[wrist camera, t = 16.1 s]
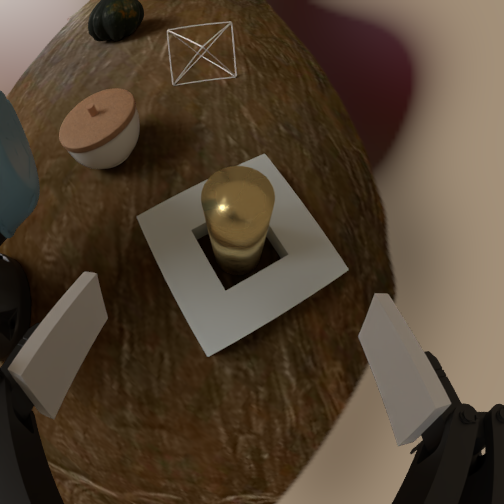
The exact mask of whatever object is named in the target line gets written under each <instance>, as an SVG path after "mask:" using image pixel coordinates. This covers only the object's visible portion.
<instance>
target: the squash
mask: <svg viewBox="0 0 504 504" xmlns="http://www.w3.org/2000/svg"><path fill="white" fill-rule="evenodd" d="M143 17H144V10H143V6H142V5H141V3H140V2H139V1H138V0H101V1H100V2H99V3H98V4H97V5H96V7H95V8H94V9H93V11H92V12H91V14H90V17H89V22H88V30H89V34H90V35H91V36H92V37H93V38H94V39H95V40H97V41H104V40H109V39H112V40H114V41H119V40H121V39H122V38H123V36H127V35H130V34H131V33H132V32H134V31H135V29H136V28H137V27H138V26H139V25H140V24H141V22H142V20H143Z"/></svg>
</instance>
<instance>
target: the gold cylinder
mask: <svg viewBox="0 0 504 504" xmlns="http://www.w3.org/2000/svg"><path fill="white" fill-rule="evenodd" d="M201 203H202V208H203V212H204V216H205V220H206V224H207V228H208V233H209V237H210V241H211V245H212V249H213V252H214V256H215V260H216V262H217V264H218V266H219V267H220V268H221V269H222V270H223V271H225V272H226V273H228V274H231V275H244V274H247V273H249V272H251V271H252V270H253V269H255V267H256V266H257V265H258V263H259V261H260V258H261V254H262V250H263V246H264V242H265V239H266V235H267V231H268V227H269V223H270V219H271V215H272V211H273V207H274V203H275V192H274V189H273V186H272V184H271V183H270V181H269V180H268V179H267V177H266V176H264V175H263V174H262V173H261V172H259V171H257V170H255V169H253V168H249V167H245V166H231V167H227V168H224V169H221V170H219V171H217V172H216V173H214V174H213V175H212V176H211V177H210V178H209V179H208V180H207V181H206V183H205V184H204V186H203V189H202V193H201Z"/></svg>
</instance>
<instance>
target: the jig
mask: <svg viewBox="0 0 504 504" xmlns="http://www.w3.org/2000/svg"><path fill="white" fill-rule="evenodd" d="M237 166H245V167H249V168H253V169H255V170H257V171H259V172H261V173H262V174H263V175H264V176H266V177H267V179H268V180H269V181H270V183H271V184H272V186H273V189H274V192H275V203H274V207H273V211H272V215H271V219H270V223H269V227H268V231H267V235H266V237H267V238H268V240H269V241H270V243H271V244H272V246H273V247H274V249H275V250H276V252H277V253H278V255H279V256H280V258H281V259H280V260H278V261H277V262H275V263H273V264H271V265H270V266H268V267H266V268H265V269H263V270H261V271H259V272H258V273H256V274H254V275H252V276H251V277H249V278H247V279H245V280H244V281H242V282H240V283H238V284H237V285H235V286H233V287H231V288H230V289H228V290H226V291H225V289H224V287H223V286H222V284H221V282H220V280H219V279H218V277H217V275H216V273H215V272H214V270H213V268H212V266H211V265H210V263H209V261H208V259H207V258H206V256H205V254H204V252H203V251H202V249H201V247H200V245H199V243H198V242H197V240H198V239H200V238H201V237H203V236H205V235H207V234H209V233H208V228H207V224H206V220H205V216H204V212H203V208H202V203H201V193H202V189H203V186H204V184H205V183H206V181H207V180H208V179H207V180H205V181H203V182H201V183H199V184H197V185H195V186H193V187H191V188H189V189H187V190H185V191H183V192H181V193H179V194H177V195H175V196H173V197H172V198H170V199H168V200H166V201H164V202H162V203H160V204H158V205H156V206H155V207H153V208H151V209H149V210H147V211H146V212H144V213H142V214H140V215H138V216H137V219H138V222H139V224H140V226H141V229H142V231H143V233H144V236H145V238H146V240H147V242H148V244H149V247H150V249H151V251H152V253H153V255H154V257H155V259H156V262H157V264H158V266H159V268H160V270H161V272H162V274H163V276H164V278H165V280H166V282H167V284H168V286H169V288H170V290H171V292H172V294H173V296H174V298H175V300H176V301H177V303H178V305H179V307H180V309H181V311H182V313H183V315H184V316H185V318H186V320H187V322H188V324H189V326H190V327H191V329H192V331H193V333H194V334H195V336H196V338H197V340H198V341H199V343H200V345H201V347H202V348H203V350H204V352H205V353H206V355H207V357H209V356H211V355H213V354H215V353H216V352H218V351H220V350H222V349H224V348H225V347H227V346H229V345H231V344H232V343H234V342H236V341H238V340H239V339H241V338H243V337H245V336H246V335H248V334H250V333H251V332H253V331H255V330H256V329H258V328H260V327H262V326H263V325H265V324H267V323H268V322H270V321H271V320H273V319H275V318H276V317H278V316H280V315H281V314H283V313H284V312H286V311H288V310H289V309H291V308H292V307H294V306H296V305H297V304H299V303H300V302H302V301H303V300H305V299H306V298H308V297H310V296H311V295H313V294H314V293H316V292H317V291H319V290H320V289H322V288H323V287H325V286H326V285H328V284H329V283H331V282H332V281H334V280H335V279H337V278H338V277H339V276H341V275H342V274H344V273H345V272H347V271H348V270H349V269H348V268H347V266H346V264H345V263H344V261H343V260H342V258H341V257H340V255H339V254H338V252H337V251H336V250H335V248H334V247H333V245H332V244H331V242H330V241H329V239H328V238H327V236H326V235H325V233H324V232H323V231H322V229H321V228H320V226H319V225H318V224H317V222H316V221H315V219H314V218H313V217H312V215H311V214H310V212H309V211H308V210H307V208H306V207H305V205H304V204H303V203H302V201H301V200H300V199H299V197H298V196H297V195H296V193H295V192H294V191H293V189H292V188H291V187H290V185H289V184H288V183H287V181H286V180H285V179H284V177H283V176H282V175H281V174H280V172H279V171H278V170H277V168H276V167H275V166H274V165H273V163H272V162H271V161H270V160H269V158H268V157H267V156H266V155H265V154H263V155H260V156H258V157H256V158H253V159H251V160H249V161H246V162H244V163H242V164H240V165H237Z"/></svg>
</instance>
